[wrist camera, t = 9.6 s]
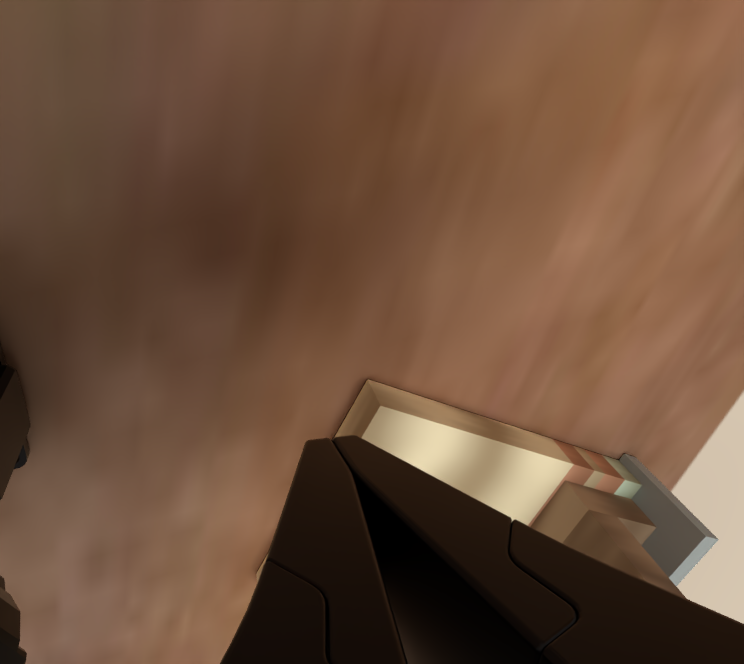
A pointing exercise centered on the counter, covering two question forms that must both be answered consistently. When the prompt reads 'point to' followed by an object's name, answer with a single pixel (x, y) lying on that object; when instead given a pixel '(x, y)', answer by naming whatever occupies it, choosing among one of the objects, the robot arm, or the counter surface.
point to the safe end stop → (668, 525)
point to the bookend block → (603, 530)
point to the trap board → (479, 452)
